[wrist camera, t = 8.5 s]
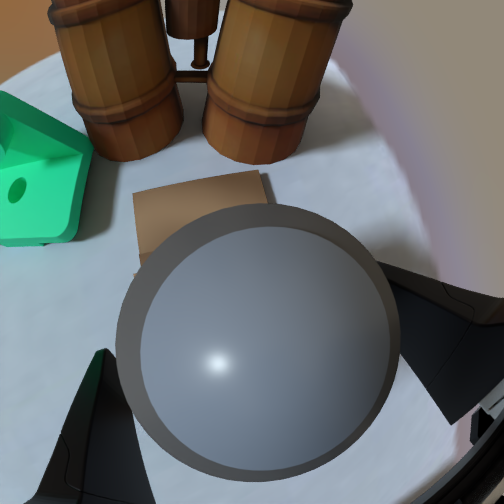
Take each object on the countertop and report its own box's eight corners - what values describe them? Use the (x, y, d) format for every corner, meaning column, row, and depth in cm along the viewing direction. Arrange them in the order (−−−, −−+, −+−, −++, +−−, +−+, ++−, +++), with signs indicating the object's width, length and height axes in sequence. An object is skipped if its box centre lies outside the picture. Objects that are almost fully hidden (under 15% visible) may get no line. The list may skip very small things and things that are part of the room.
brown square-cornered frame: (306, 364, 17) (325, 374, 14) (176, 397, 15) (169, 415, 12) (256, 174, 20) (264, 150, 16) (135, 198, 18) (123, 176, 15)
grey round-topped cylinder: (265, 363, 16) (391, 465, 4) (182, 359, 15) (117, 480, 3) (269, 282, 17) (408, 215, 5) (187, 276, 16) (126, 181, 4)
